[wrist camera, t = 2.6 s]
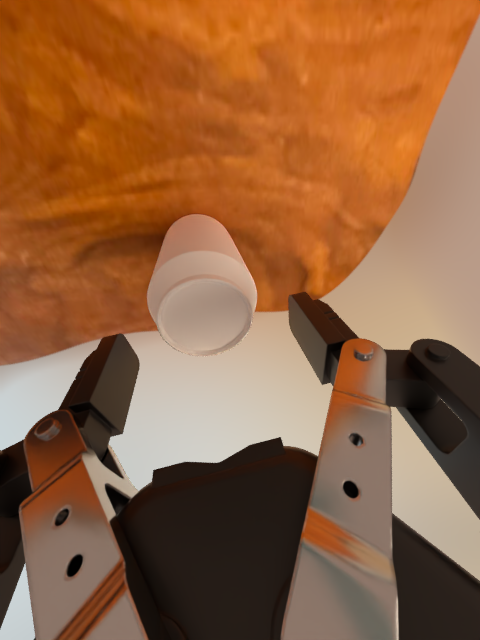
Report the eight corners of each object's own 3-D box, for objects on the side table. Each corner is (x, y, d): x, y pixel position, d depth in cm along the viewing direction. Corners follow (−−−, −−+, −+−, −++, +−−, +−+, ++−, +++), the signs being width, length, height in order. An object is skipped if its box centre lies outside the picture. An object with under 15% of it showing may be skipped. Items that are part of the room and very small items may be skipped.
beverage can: (230, 210, 19) (270, 260, 10) (232, 275, 23) (261, 357, 13) (158, 212, 18) (123, 269, 9) (171, 279, 22) (156, 371, 13)
